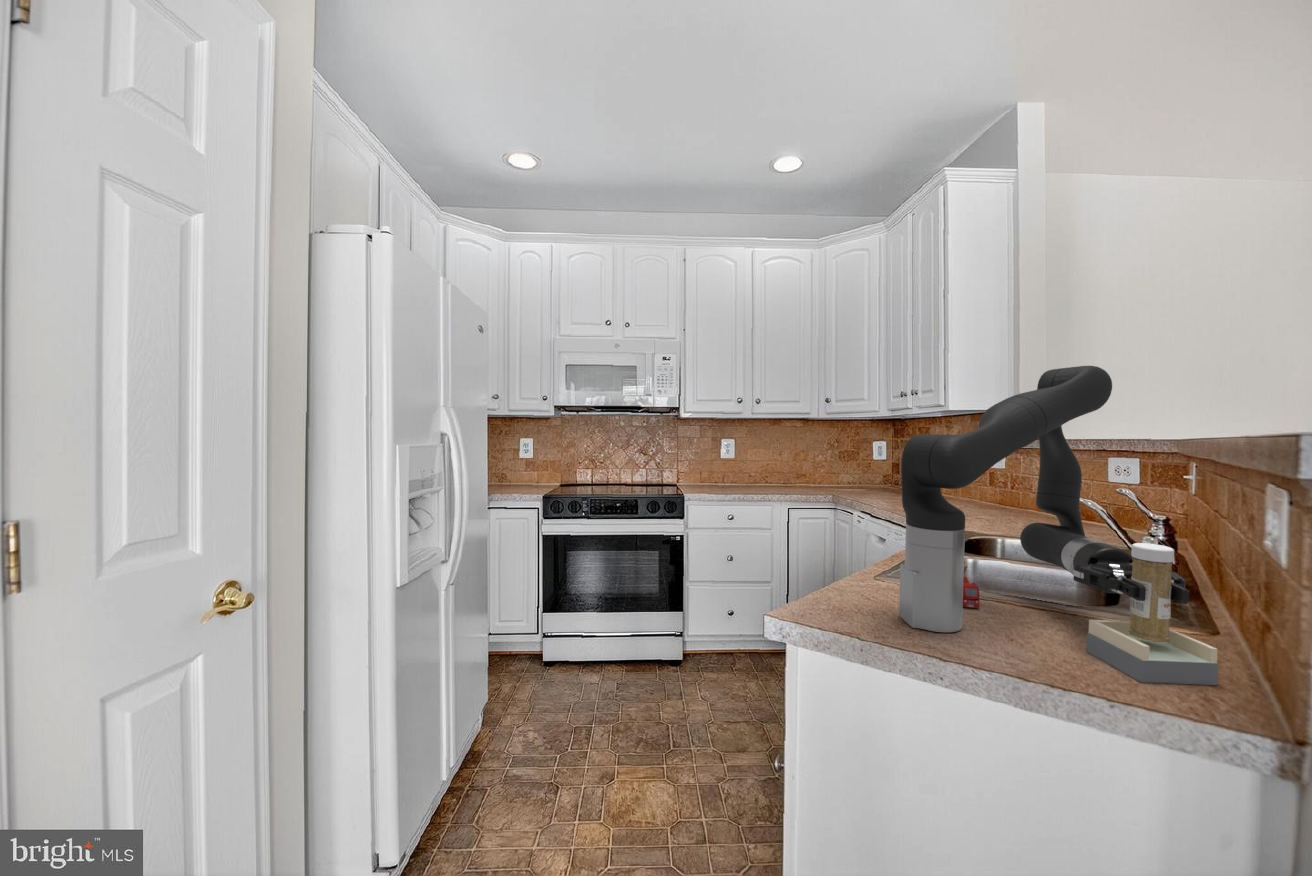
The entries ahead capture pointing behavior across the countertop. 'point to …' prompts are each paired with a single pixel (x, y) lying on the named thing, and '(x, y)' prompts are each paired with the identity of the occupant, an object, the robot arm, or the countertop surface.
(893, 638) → the countertop surface
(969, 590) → the toy fire truck
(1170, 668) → the shallow square tray
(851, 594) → the countertop surface
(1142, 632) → the sprinkles bottle
